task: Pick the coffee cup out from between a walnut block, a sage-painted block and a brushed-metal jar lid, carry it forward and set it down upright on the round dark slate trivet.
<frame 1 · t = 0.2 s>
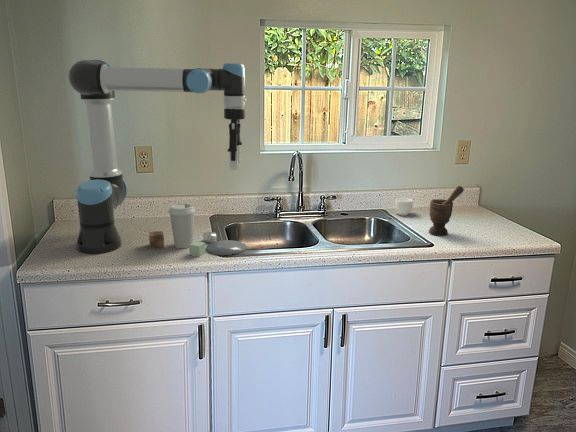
hand: (235, 166, 197), 28 cm above the worktop, fingers open, 13 cm apart
mortar and pestle: (442, 234, 212), on the worktop
sage block: (197, 254, 186), on the worktop
walnut block: (156, 246, 193), on the worktop
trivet: (226, 248, 192), on the worktop
coffee cup: (183, 246, 194), on the worktop
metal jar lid: (210, 241, 199), on the worktop
cup: (402, 214, 238), on the worktop
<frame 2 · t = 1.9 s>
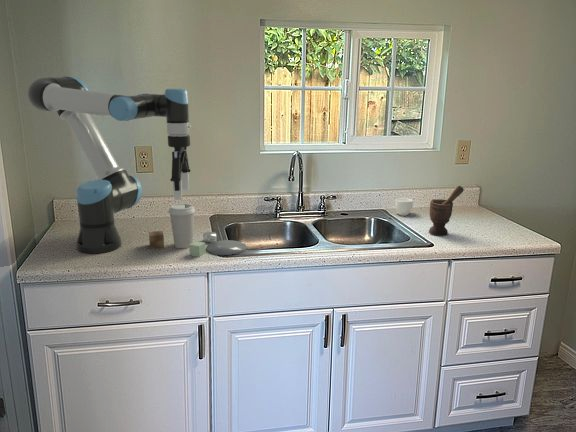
hand: (181, 194, 189), 19 cm above the worktop, fingers open, 13 cm apart
nothing on the worktop moved.
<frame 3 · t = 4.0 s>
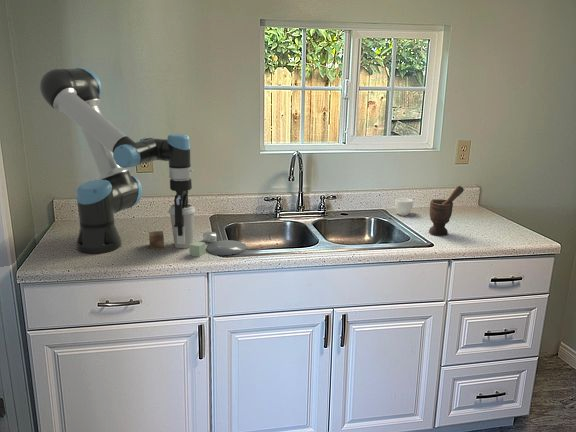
hand: (183, 239, 194), 2 cm above the worktop, fingers closed on coffee cup, 8 cm apart
coffee cup: (183, 245, 194), on the worktop, touching gripper
everything else where it was.
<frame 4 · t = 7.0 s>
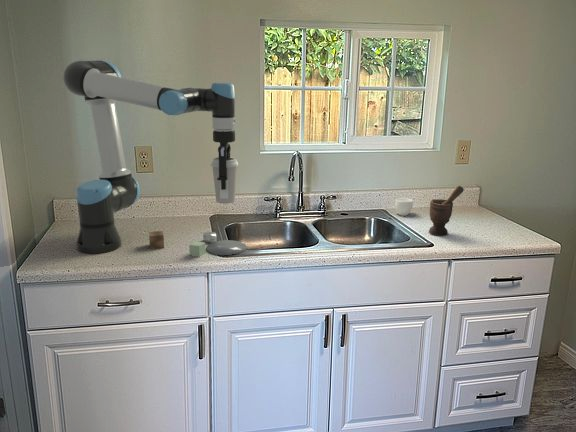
hand: (225, 195, 186), 20 cm above the worktop, fingers closed on coffee cup, 8 cm apart
coffee cup: (225, 201, 187), point 18 cm above the worktop, touching gripper
everything else where it was.
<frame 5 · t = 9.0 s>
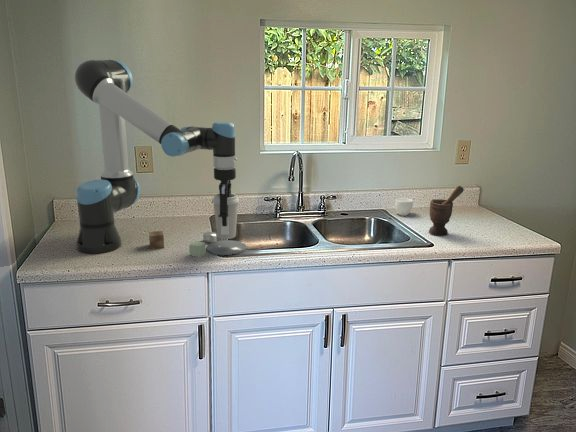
hand: (226, 230, 190), 7 cm above the worktop, fingers closed on coffee cup, 8 cm apart
coffee cup: (226, 236, 190), point 5 cm above the worktop, touching gripper
everything else where it was.
when the fingers open (5 cm above the worktop, at t = 10.4 s): coffee cup drops 2 cm, resting on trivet.
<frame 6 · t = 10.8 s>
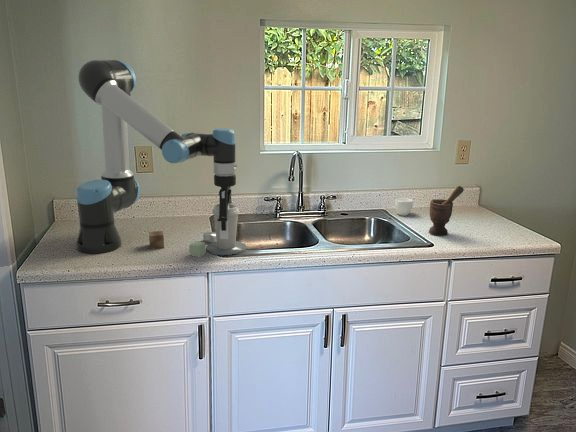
hand: (226, 232, 190), 6 cm above the worktop, fingers open, 12 cm apart
coffee cup: (226, 246, 192), point 1 cm above the worktop, touching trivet
everything else where it was.
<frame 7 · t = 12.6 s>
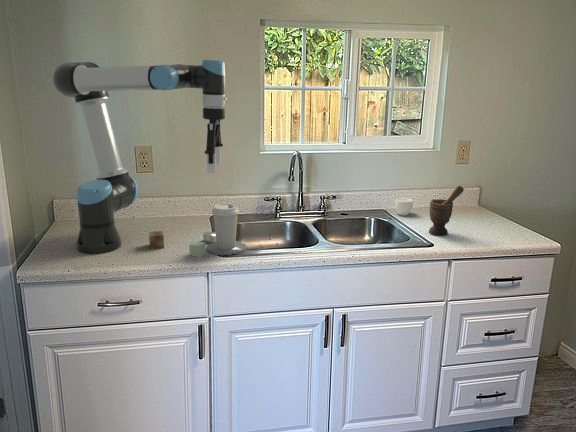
hand: (214, 168, 186), 29 cm above the worktop, fingers open, 13 cm apart
nothing on the worktop moved.
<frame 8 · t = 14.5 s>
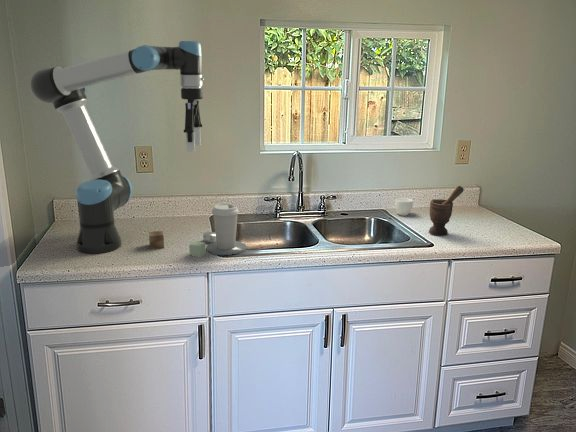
hand: (194, 148, 191), 35 cm above the worktop, fingers open, 13 cm apart
nothing on the worktop moved.
at the end: coffee cup 0.2 cm from the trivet (horizontally); coffee cup tilted 0°; coffee cup point 0.6 cm above the worktop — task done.
